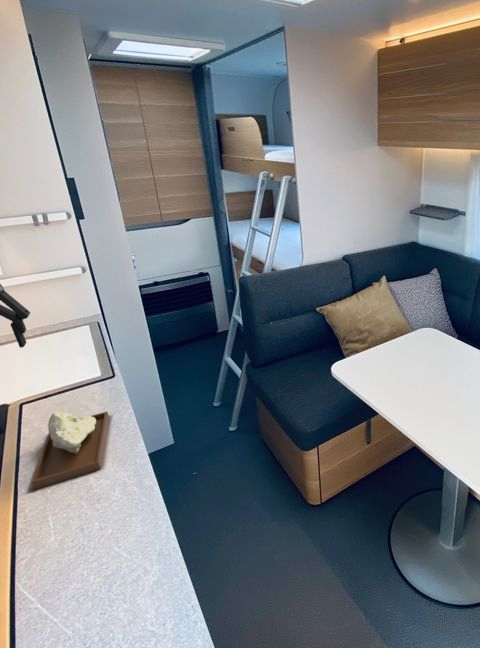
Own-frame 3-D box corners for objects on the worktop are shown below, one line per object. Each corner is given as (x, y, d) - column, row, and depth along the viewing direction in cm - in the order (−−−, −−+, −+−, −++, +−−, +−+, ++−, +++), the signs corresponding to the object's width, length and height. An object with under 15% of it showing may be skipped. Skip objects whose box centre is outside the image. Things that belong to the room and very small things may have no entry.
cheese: (68, 432, 114) (14, 434, 99) (84, 408, 115) (33, 407, 101) (105, 462, 109) (53, 470, 95) (121, 437, 110) (73, 441, 96)
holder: (34, 489, 94) (31, 482, 93) (53, 432, 112) (51, 426, 111) (100, 468, 100) (98, 462, 99) (109, 417, 117) (107, 411, 116)
